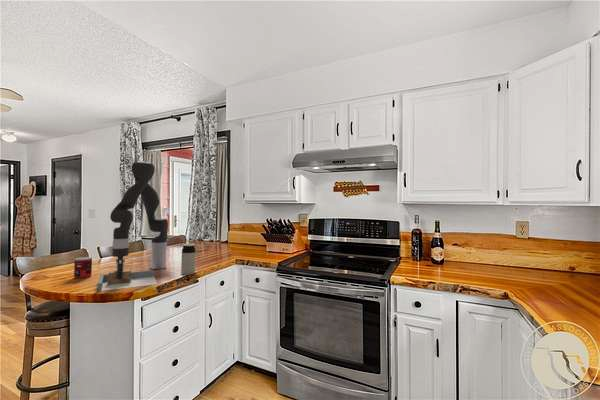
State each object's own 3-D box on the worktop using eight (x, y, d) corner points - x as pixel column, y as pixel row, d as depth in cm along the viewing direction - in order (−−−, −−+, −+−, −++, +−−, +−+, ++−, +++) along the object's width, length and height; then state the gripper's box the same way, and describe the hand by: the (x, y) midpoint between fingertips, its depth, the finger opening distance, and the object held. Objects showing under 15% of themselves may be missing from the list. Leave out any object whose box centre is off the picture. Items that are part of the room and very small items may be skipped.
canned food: (72, 277, 163) (73, 258, 163) (89, 275, 168) (90, 256, 169) (75, 279, 157) (76, 260, 158) (92, 277, 163) (93, 258, 164)
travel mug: (195, 274, 175) (196, 244, 176) (182, 275, 171) (182, 245, 172) (193, 271, 182) (194, 243, 182) (180, 272, 178) (181, 244, 178)
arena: (100, 282, 153) (100, 274, 153) (153, 276, 167) (154, 269, 167) (97, 291, 136) (97, 283, 137) (157, 284, 150) (157, 277, 150)
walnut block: (130, 280, 156) (130, 269, 156) (130, 282, 152) (131, 271, 152) (108, 282, 151) (108, 271, 151) (108, 284, 147) (108, 273, 147)
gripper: (129, 248, 148) (128, 279, 148) (128, 244, 160) (127, 273, 160) (112, 249, 144) (111, 281, 144) (112, 245, 156) (111, 275, 156)
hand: (119, 277), depth 152 cm, fingers open, 8 cm apart
